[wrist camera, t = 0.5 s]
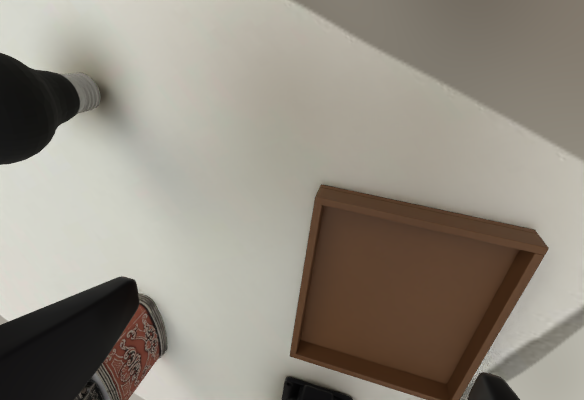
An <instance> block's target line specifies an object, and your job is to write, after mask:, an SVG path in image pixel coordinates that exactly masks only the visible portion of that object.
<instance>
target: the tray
mask: <svg viewBox="0 0 584 400" xmlns="http://www.w3.org/2000/svg"><path fill="white" fill-rule="evenodd" d="M547 250H548V247H547V245H546V244H545V243H544V241H543V240H542V239H541V237H540V236H539V235H538V233H537V232H536V231H535V230H533V229H528V228H524V227H519V226H514V225H510V224H505V223H500V222H495V221H491V220H486V219H481V218H477V217H472V216H467V215H463V214H458V213H453V212H448V211H444V210H439V209H434V208H430V207H425V206H420V205H416V204H411V203H406V202H402V201H397V200H392V199H387V198H383V197H378V196H373V195H369V194H364V193H359V192H355V191H350V190H345V189H340V188H336V187H331V186H326V185H321V186H320V188H319V190H318V192H317V194H316V197H315V202H314V208H313V214H312V220H311V226H310V233H309V239H308V245H307V251H306V257H305V264H304V270H303V276H302V282H301V288H300V295H299V301H298V307H297V313H296V319H295V326H294V332H293V338H292V344H291V350H290V356H291V357H294V358H297V359H300V360H303V361H306V362H309V363H313V364H316V365H319V366H322V367H325V368H328V369H332V370H335V371H338V372H341V373H344V374H347V375H351V376H354V377H357V378H360V379H363V380H366V381H369V382H373V383H376V384H379V385H382V386H385V387H388V388H392V389H395V390H398V391H401V392H404V393H407V394H410V395H414V396H417V397H420V398H423V399H426V400H459V399H460V398H461V396H462V394H463V393H464V391H465V389H466V388H467V386H468V384H469V383H470V381H471V379H472V377H473V376H474V374H475V372H476V371H477V369H478V367H479V366H480V364H481V362H482V361H483V359H484V357H485V355H486V354H487V352H488V350H489V349H490V347H491V345H492V344H493V342H494V340H495V339H496V337H497V335H498V333H499V332H500V330H501V328H502V327H503V325H504V323H505V322H506V320H507V318H508V317H509V315H510V313H511V311H512V310H513V308H514V306H515V305H516V303H517V301H518V300H519V298H520V296H521V295H522V293H523V291H524V289H525V288H526V286H527V284H528V283H529V281H530V279H531V278H532V276H533V274H534V273H535V271H536V269H537V267H538V266H539V264H540V262H541V261H542V259H543V257H544V255H545V254H546V252H547Z"/></svg>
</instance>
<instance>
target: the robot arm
mask: <svg viewBox="0 0 584 400" xmlns="http://www.w3.org/2000/svg"><path fill="white" fill-rule="evenodd" d="M139 302H140V301H139V295H138V289H137V284H136V281H135V280H133V279H130V278H127V277H118V278H115V279H113V280H110V281H108V282H105V283H103V284H100V285H98V286H95V287H93V288H91V289H88V290H86V291H83V292H81V293H78V294H76V295H73V296H71V297H68V298H66V299H63V300H61V301H59V302H56V303H54V304H51V305H49V306H46V307H44V308H41V309H39V310H36V311H34V312H31V313H29V314H26V315H24V316H22V317H19V318H17V319H14V320H12V321H9V322H7V323H4V324H2V325H0V400H75V399H76V397H77V396H78V395H79V393H80V392H81V391H82V389H83V388H84V387H85V386H86V384H87V383H88V382H89V380H90V379H91V378H92V376H93V375H94V374H95V373H96V371H97V370H98V369H99V367H100V366H101V365H102V363H103V362H104V361H105V359H106V358H107V356H108V355H109V353H110V352H111V350H112V349H113V347H114V346H115V344H116V342H117V341H118V339H119V338H120V336H121V335H122V333H123V331H124V330H125V328H126V327H127V325H128V324H129V322H130V320H131V319H132V317H133V316H134V314H135V313H136V311H137V309H138V307H139ZM282 400H353V399H352V398H351V397H349V396H346V395H343V394H340V393H337V392H334V391H331V390H328V389H325V388H322V387H319V386H316V385H313V384H310V383H307V382H304V381H301V380H298V379H295V378H292V377H287V378H286V379H285V383H284V389H283V395H282ZM468 400H520V399H519V398H518V396H517V395H516V394H515V393H514V392H513V390H512V389H511V388H510V387H509V385H508V384H507V383H506V382H505V380H503V379H502V378H501V377H499V376H496V375H492V374H488V373H480V374H479V376H478V377H477V379H476V381H475V383H474V385H473V387H472V389H471V391H470V393H469V397H468Z"/></svg>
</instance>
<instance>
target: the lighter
mask: <svg viewBox="0 0 584 400" xmlns="http://www.w3.org/2000/svg"><path fill="white" fill-rule="evenodd" d="M138 295H139V301H140V302H139V307H138V309H137V311H136V313H135V314H134V316H133V317H132V319H131V320H130V322H129V324H128V325H127V327H126V328H125V330H124V331H123V333H122V335H121V336H120V338H119V339H118V341H117V342H116V344H115V346H114V347H113V349H112V350H111V352H110V353H109V355H108V356H107V358H106V359H105V361H104V362H103V363H102V365H101V366H100V367H99V369H98V370H97V371H96V373H95V374H94V375H93V376H92V378H91V379H90V380H89V382H88V383H87V384H86V386H85V387H84V388H83V389H82V391H81V392H80V393H79V395H78V396H77V397H76V399H75V400H128V399H129V398H130V396H131V395H132V394H133V392H134V391H135V390H136V388H137V387H138V385H139V384H140V383H141V381H142V380H143V379H144V377H145V376H146V374H147V373H148V372H149V370H150V369H151V368H152V366H153V365H154V363H155V362H156V361H157V359H159V358H161V357H162V356H163V354H164V353H165V351H166V350H167V338H166V332H165V327H164V324H163V321H162V318H161V316H160V313H159V311H158V309H157V307H156V305H155V303H154V302H153V300H152V299H150V298H149V297H147V296H146V295H142V294H138Z"/></svg>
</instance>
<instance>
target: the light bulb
mask: <svg viewBox="0 0 584 400" xmlns="http://www.w3.org/2000/svg"><path fill="white" fill-rule="evenodd" d="M99 103H100V91H99V89H98V86H97V85H96V83H95V82H94V81H93V80H92V79H91V78H90V77H89V76H87V75H86V74H83V73H70V74H58V73H53V72H49V71H41V70H34V69H31V68H29V67H27V66H26V65H24V64H23V63H21V62H20V61H18V60H16V59H14V58H12V57H10V56H8V55H5V54H2V53H0V165H2V164H11V163H15V162H19V161H22V160H25V159H28V158H30V157H31V156H33V155H35V154H37V153H39V152H40V151H41V150H42V149H43V148H44V147H45V146H46V145H47V144H48V143H49V142H50V141H51V139H52V137H53V136H54V134H55V130H56V129H57V127H58V126H59V125H60V124H62V123H64V122H66V121H68V120H70V119H71V118H72V117H73V116H75V115H76V114H78V113H82V112H85V111H89V110H93V109H95V108H96V107H97V106H98V105H99Z"/></svg>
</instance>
